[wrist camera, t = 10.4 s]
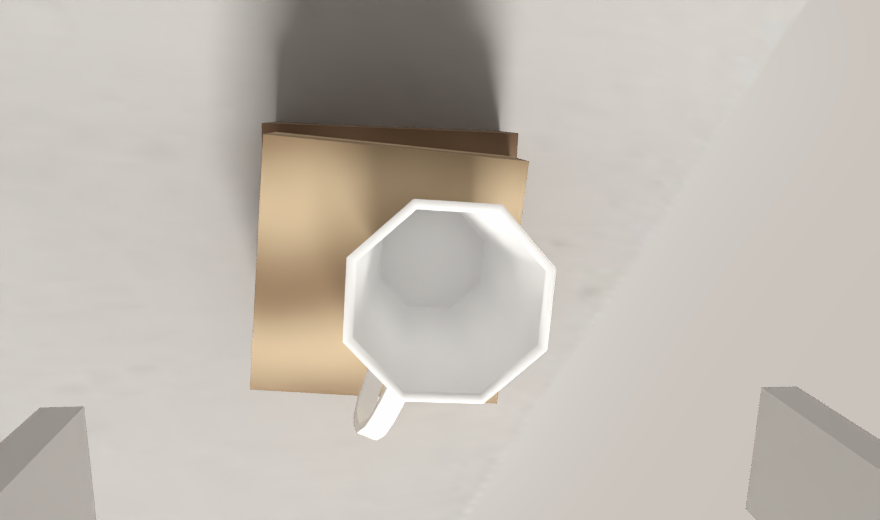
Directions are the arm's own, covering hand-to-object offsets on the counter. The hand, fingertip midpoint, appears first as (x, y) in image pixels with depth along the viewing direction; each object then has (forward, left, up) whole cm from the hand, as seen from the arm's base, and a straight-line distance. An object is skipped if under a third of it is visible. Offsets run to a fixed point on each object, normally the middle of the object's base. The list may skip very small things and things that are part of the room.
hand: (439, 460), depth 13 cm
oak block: (0, -1, -20) cm, 20 cm away
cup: (+1, +1, -16) cm, 16 cm away
